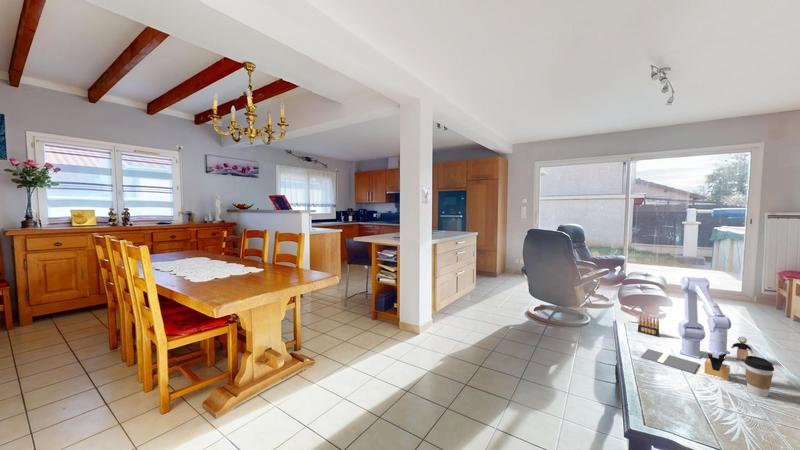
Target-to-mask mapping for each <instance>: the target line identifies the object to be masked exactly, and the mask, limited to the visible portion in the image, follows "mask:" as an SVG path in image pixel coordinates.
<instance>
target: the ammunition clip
mask: <svg viewBox="0 0 800 450" xmlns="http://www.w3.org/2000/svg"><path fill="white" fill-rule="evenodd" d="M637 323H638V325H637V332H638V333H640V334H645V335H649V336H653V337H657V338H659V337H660V321H659V318H658V317H657V318H656V319H655V317H653V318H652V316H650V317H649V316H648V315H646V317H645V315H644V314H643V315H642V314H639V316H638V322H637Z"/></svg>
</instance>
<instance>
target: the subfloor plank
mask: <svg viewBox="0 0 800 450" xmlns="http://www.w3.org/2000/svg"><path fill="white" fill-rule="evenodd" d="M640 358H642V359H645V360H648V361H650V362H654V363H657V364H661V365H664V366H667V367H671V368H674V369H676V370H680V371H683V372H686V373H689V374H693V375H694V374H695V373H696V371H697V370H698V368H699V367H700V363H698V362H694V361H691V360H688V359H684V358H681V357H678V356H674V355H671V354H667V353H664V352H660V351H658V350H654V349H650V348H647V349H646V351H644V352H643V353H642V355H640Z"/></svg>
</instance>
